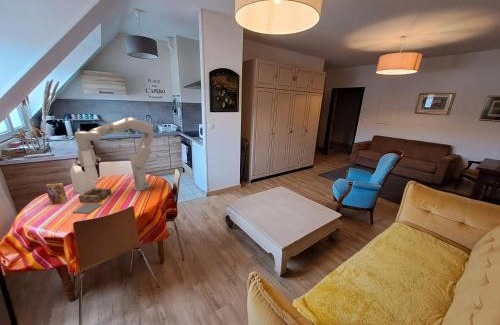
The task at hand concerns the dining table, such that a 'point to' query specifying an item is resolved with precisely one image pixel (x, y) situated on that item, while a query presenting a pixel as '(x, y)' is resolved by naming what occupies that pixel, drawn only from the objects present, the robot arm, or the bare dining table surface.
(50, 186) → the candy box
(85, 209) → the mat
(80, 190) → the milk
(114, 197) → the dining table surface
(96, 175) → the cylindrical container
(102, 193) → the collar
